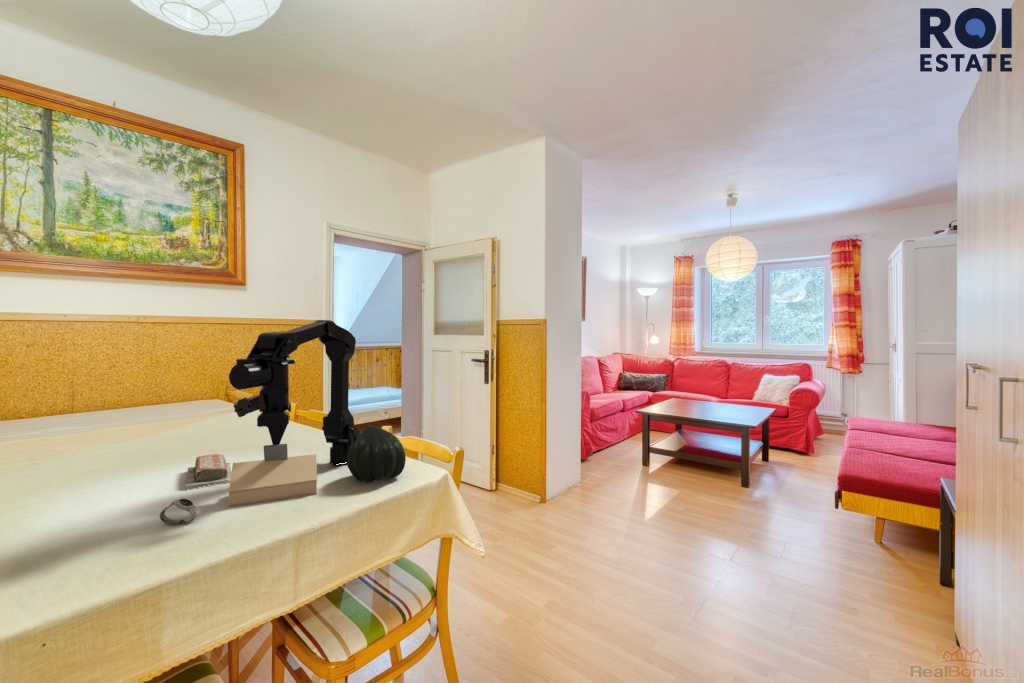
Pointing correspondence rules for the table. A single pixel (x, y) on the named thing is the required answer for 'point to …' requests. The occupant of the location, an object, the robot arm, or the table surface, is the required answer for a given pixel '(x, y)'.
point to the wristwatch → (181, 504)
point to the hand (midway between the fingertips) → (275, 447)
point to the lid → (273, 470)
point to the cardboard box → (272, 493)
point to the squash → (376, 455)
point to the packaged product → (208, 471)
